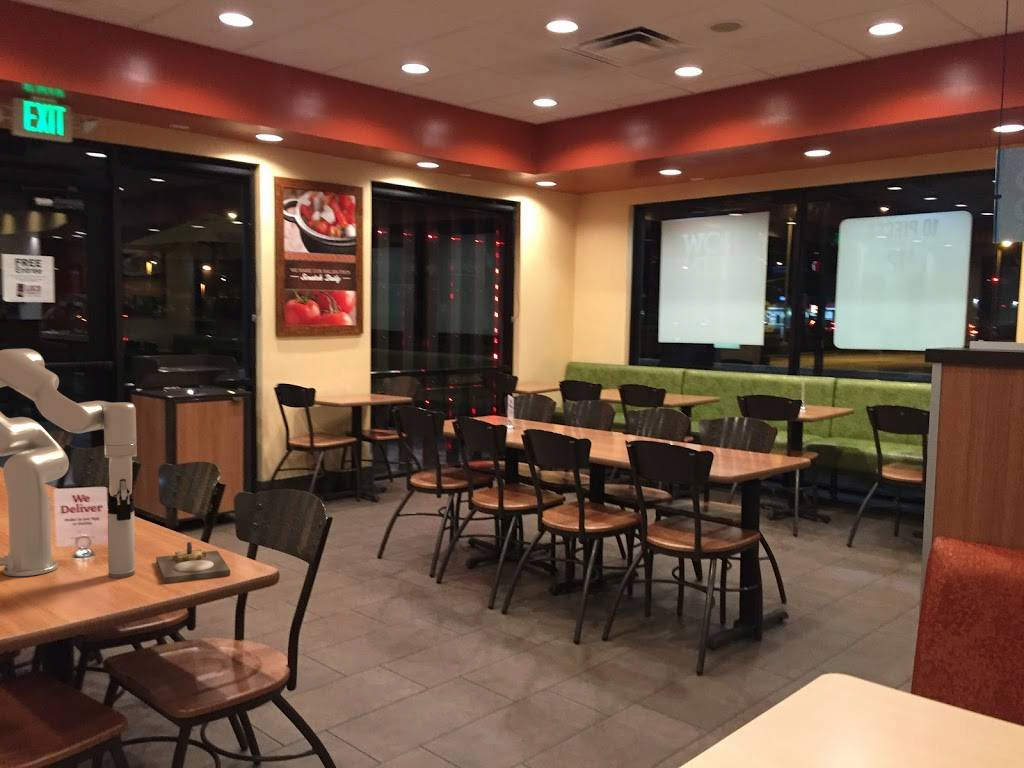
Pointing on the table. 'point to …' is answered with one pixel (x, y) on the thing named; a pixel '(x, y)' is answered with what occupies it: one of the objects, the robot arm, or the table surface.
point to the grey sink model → (191, 565)
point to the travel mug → (120, 543)
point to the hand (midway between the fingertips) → (122, 516)
